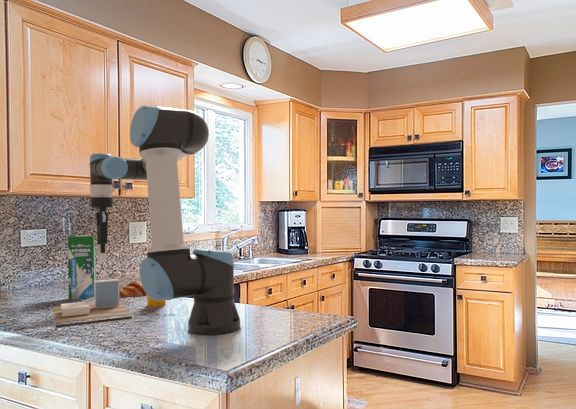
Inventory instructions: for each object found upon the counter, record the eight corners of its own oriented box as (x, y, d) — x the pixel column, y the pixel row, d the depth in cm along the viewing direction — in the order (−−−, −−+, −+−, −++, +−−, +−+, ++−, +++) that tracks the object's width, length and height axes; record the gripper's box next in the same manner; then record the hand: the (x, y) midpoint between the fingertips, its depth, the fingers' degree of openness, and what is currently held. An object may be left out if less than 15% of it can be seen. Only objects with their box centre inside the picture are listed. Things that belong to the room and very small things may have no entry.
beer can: (160, 311, 164) (160, 267, 164) (144, 310, 165) (143, 267, 165) (168, 307, 170) (167, 265, 170) (152, 307, 171) (152, 265, 171)
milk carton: (95, 296, 193) (95, 234, 193) (94, 300, 185) (93, 235, 185) (71, 297, 191) (70, 235, 190) (68, 302, 182) (67, 236, 182)
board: (132, 318, 154) (132, 314, 154) (56, 327, 144) (56, 322, 144) (119, 304, 177) (119, 300, 177) (53, 311, 167) (53, 306, 167)
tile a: (87, 309, 162) (89, 314, 154) (60, 311, 158) (62, 317, 150) (86, 301, 162) (89, 306, 154) (60, 304, 158) (62, 309, 150)
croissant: (158, 301, 199) (153, 283, 202) (171, 292, 193) (165, 273, 196) (110, 309, 183) (105, 289, 186) (123, 299, 177) (117, 279, 180)
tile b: (119, 305, 167) (119, 279, 167) (94, 308, 163) (94, 281, 163) (118, 304, 169) (118, 278, 169) (94, 306, 166) (93, 280, 166)
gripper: (115, 196, 169) (116, 263, 169) (109, 196, 181) (110, 259, 181) (92, 196, 166) (93, 264, 166) (88, 197, 177) (89, 260, 177)
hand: (102, 261), depth 173 cm, fingers closed
